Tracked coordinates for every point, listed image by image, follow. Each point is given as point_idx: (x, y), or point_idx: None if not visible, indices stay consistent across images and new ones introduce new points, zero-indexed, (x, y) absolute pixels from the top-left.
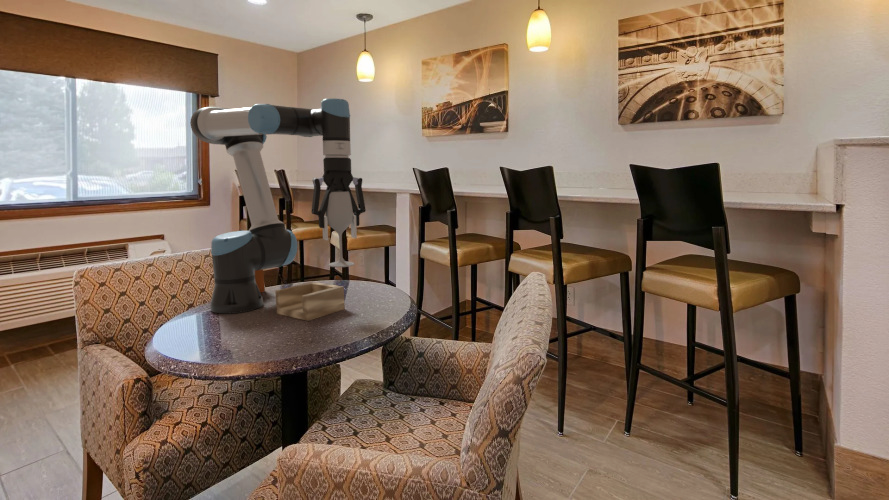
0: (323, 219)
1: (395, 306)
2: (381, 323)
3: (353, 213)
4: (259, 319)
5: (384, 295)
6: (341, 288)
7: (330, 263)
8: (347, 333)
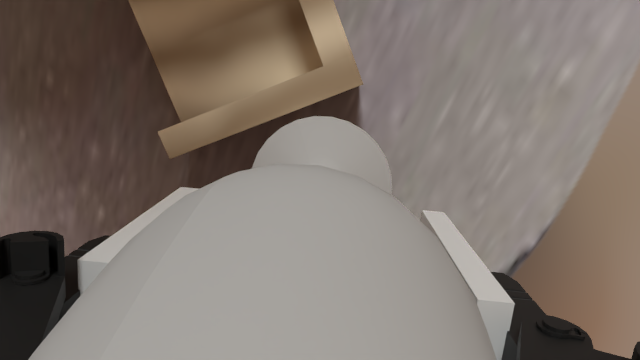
0: None
1: (528, 168)
2: None
3: (522, 321)
4: (61, 19)
5: None
6: (349, 89)
7: (270, 147)
8: None
